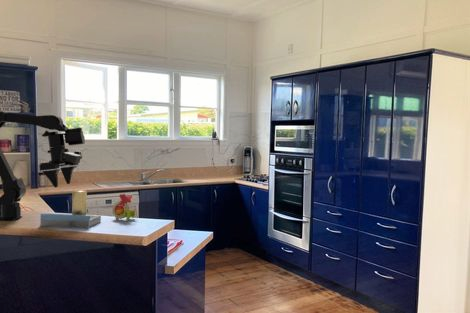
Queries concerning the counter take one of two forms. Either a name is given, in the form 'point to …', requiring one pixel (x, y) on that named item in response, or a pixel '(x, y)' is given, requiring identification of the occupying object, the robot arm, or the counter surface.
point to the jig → (69, 220)
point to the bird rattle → (120, 209)
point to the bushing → (79, 202)
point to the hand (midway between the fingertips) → (62, 185)
